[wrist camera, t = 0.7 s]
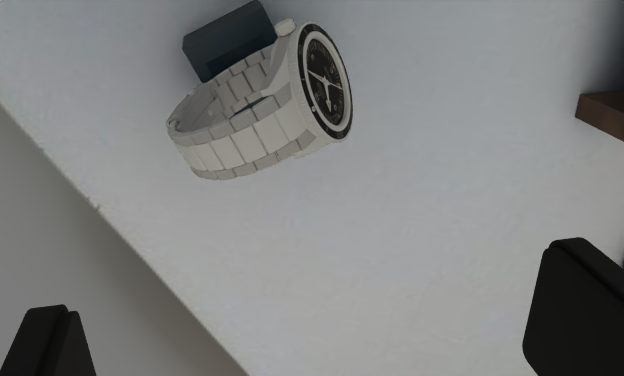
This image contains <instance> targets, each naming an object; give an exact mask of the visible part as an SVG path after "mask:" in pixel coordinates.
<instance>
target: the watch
mask: <svg viewBox="0 0 624 376" xmlns="http://www.w3.org/2000/svg"><path fill="white" fill-rule="evenodd" d="M274 29H275V30H274ZM275 31H276V33H277V35H278V36H279V37H277V35H276V33H275ZM182 49H183V51H184V53H185V54H186V56H187V58H188V60H189V61H190V63H191V65H192V66H193V68H194V70H195V72H196V73H197V75H198V77H199V78H200V80H201V82H202V84H201V83H200V84H199V85H198V86H197V87H196V88H195V89H191V90H190V91H189V92H188V93H187V96H186V97H185V98H184V99H183V101H182V102H181V103H180V104H179V105H178V106H177V107H176V109H175V110H174V111H173V113H172V114H171V115H170V117H169V118H168V120H167V122H166V125H167V128H168V134H169V136H170V137H171V139H172V140H173V142H174V143H175V145H176V146H177V148H178V149H179V151H180V153H181V154H182V156H183V157H184V159H185V160H186V162H187V163H188V165H189V166H190V167H191V169H192V170H193V172H194V173H195V174H196V175H197V176H199V177H201V178H205V179H211V180H217V179H219V180H226V179H233V178H236V177H241V176H245V175H249V174H252V173H255V172H257V171H258V170H263V169H265V168H268V167H270V166H272V165H275V164H277V163H279V162H280V161H279V159H280V160H281V161H282V160H284V159H286V158H288V157H290V156H292V155H294V157H295V158H300V157H304V156H306V155H308V154H310V153H312V152H314V151H316V150H318V149H320V148H322V147H324V146H326V145H328V144H330V143H337V142H341V141H343V140H344V139H345V138H346V137H347V136H348V134H349V132H350V129H351V125H352V117H353V105H352V94H351V88H350V83H349V79H348V75H347V72H346V69H345V66H344V63H343V60H342V58H341V56H340V53H339V51H338V49H337V47H336V46H335V44H334V42H333V40H332V39H331V37H330V36H329V35H328V33H327V32H326V31H325V30H324V29H323V28H322V27H321V26H320V25H318V24H317V23H314V22H311V21H309V22H305V23H302V24H300V25H299V26H297V28H296V26H295V24H294V22H293V20H292V18H287V19H284V20H282V21H280V22H278V23H277V24H276V25H274V28H273V26H272V24H271V22H270V20H269V18H268V16H267V14H266V12H265V10H264V8H263V6H262V5H261V4H260V3H259V1H258V0H254V1H252V2H250V3H248V4H246V5H244V6H242V7H240V8H238V9H236V10H234V11H232V12H230V13H229V14H227V15H225V16H223V17H221V18H219V19H217V20H215V21H213V22H211V23H209V24H207V25H205V26H204V27H202V28H200V29H198V30H196V31H194V32H192V33H190V34H188V35H186V36H184V39H183V48H182ZM257 134H258V135H257ZM258 136H259V137H258ZM259 138H260V139H259ZM260 140H261V141H260ZM262 143H263V144H262ZM263 145H264V146H263ZM264 147H265V148H264ZM275 152H276V153H275ZM276 154H277V155H278V157H279V159H278V157H277V155H276Z"/></svg>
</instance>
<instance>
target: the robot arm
mask: <svg viewBox="0 0 624 376" xmlns="http://www.w3.org/2000/svg"><path fill="white" fill-rule="evenodd" d="M522 347H523V353H524V356H525V358H526V360H527V362H528V363H529V364H530V366H531V367H532V368H533V370H534V371H535V372H536V373H537V375H538V376H624V269H622V268H621V267H620V266H619V265H617V264H616V263H615V262H614V261H612V260H611V259H610V258H609V257H607V256H606V255H605V254H604V253H602V252H601V251H600V250H599V249H597V248H596V247H595V246H594V245H592V244H591V243H590V242H589V241H587V240H586V239H584V238H580V237H577V238H569V239H562V240H555V241H553V242H552V243H551V244H550V245H549V248H548V249H546V250H545V251H544V252H543V255H542V259H541V264H540V268H539V273H538V277H537V281H536V286H535V290H534V295H533V299H532V304H531V308H530V312H529V317H528V321H527V326H526V330H525V334H524V339H523V344H522ZM0 376H96V373H95V369H94V366H93V362H92V358H91V355H90V351H89V348H88V344H87V340H86V337H85V333H84V330H83V326H82V323H81V319H80V316H79V313H78V312H77V311H70V312H68V309H67V307H66V306H65V305H63V304H62V305H55V306H46V307H38V308H31V309H29V310H28V311H27V313H26V314H25V317H24V319H23V321H22V323H21V325H20V328H19V330H18V332H17V334H16V336H15V339H14V341H13V343H12V345H11V348H10V350H9V352H8V354H7V356H6V359H5V361H4V363H3V365H2V368H1V370H0Z"/></svg>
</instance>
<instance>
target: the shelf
mask: <svg viewBox="0 0 624 376" xmlns="http://www.w3.org/2000/svg"><path fill="white" fill-rule="evenodd" d="M575 117H576V118H578V119H580V120H582V121H584V122H586V123H588V124H590V125H592V126H594V127H596V128H598V129H600V130H602V131H604V132H606V133H608V134H610V135H611V136H613V137H615V138H617V139H619V140H621V141H623V142H624V91H614V92H602V93H590V94H581V95H580V98H579V103H578V107H577V112H576V116H575Z"/></svg>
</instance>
